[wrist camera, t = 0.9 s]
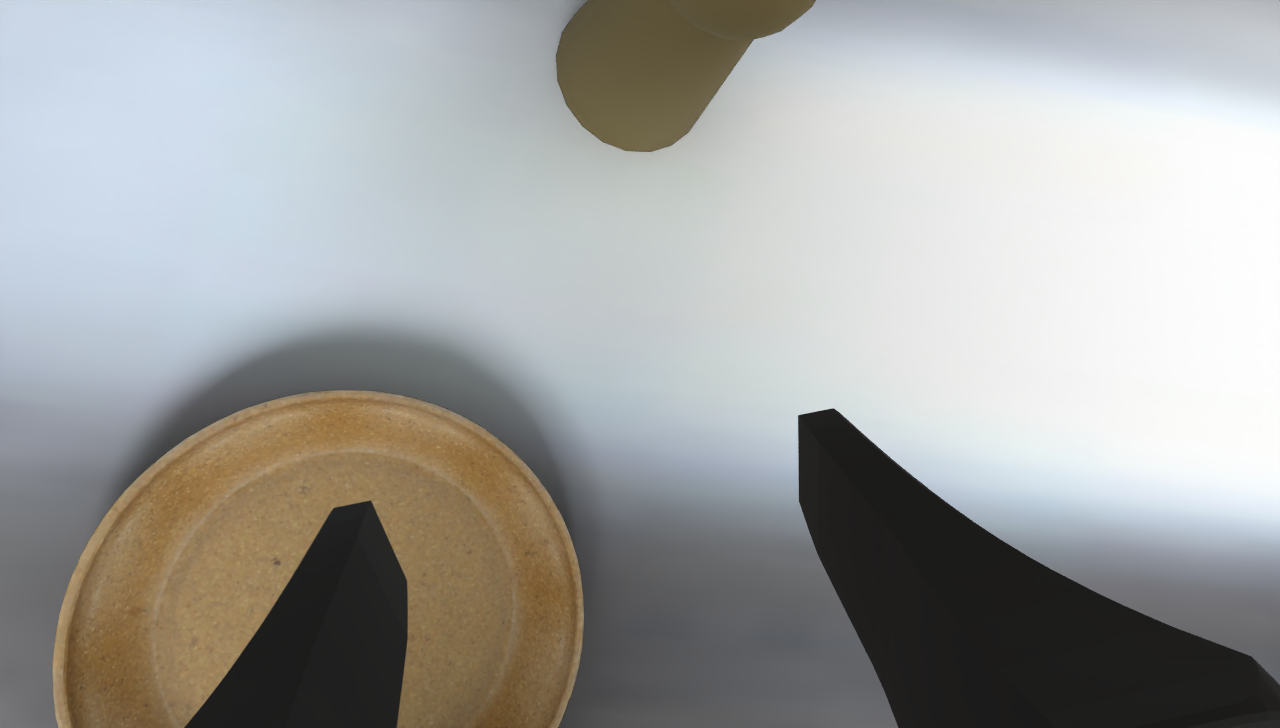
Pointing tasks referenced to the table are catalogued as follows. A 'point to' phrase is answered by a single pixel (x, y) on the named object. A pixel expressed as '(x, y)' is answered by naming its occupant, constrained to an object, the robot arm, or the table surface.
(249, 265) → the table surface
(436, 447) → the plant saucer
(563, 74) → the cork
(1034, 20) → the table surface
